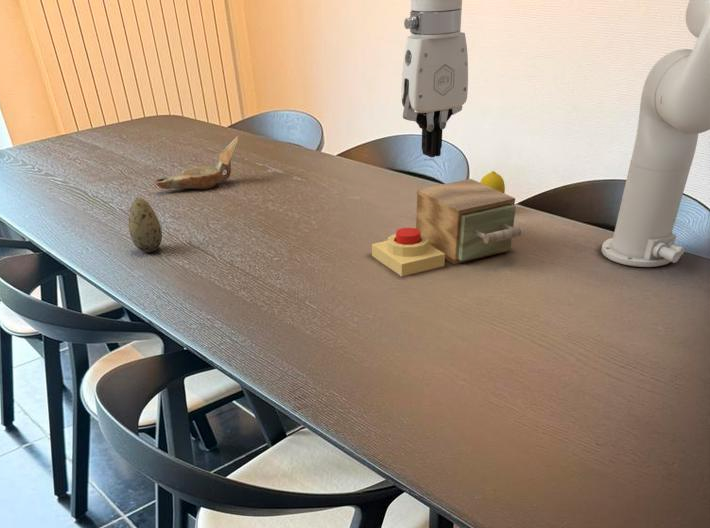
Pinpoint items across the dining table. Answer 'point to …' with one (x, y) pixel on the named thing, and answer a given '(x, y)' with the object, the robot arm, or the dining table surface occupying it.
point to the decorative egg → (144, 226)
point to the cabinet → (453, 212)
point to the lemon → (494, 181)
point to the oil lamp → (201, 173)
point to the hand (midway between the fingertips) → (431, 154)
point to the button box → (408, 256)
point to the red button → (408, 236)
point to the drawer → (487, 232)
